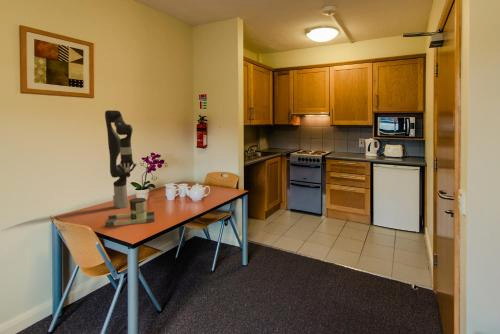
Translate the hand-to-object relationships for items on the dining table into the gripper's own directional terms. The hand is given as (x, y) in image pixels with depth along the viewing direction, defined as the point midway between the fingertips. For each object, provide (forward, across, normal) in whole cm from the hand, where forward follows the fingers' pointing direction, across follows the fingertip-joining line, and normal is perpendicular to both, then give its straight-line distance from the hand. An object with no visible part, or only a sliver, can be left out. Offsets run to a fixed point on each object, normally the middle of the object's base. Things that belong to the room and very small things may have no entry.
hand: (128, 177), depth 212 cm
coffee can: (+26, -8, +16) cm, 32 cm away
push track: (+26, -4, +17) cm, 31 cm away
